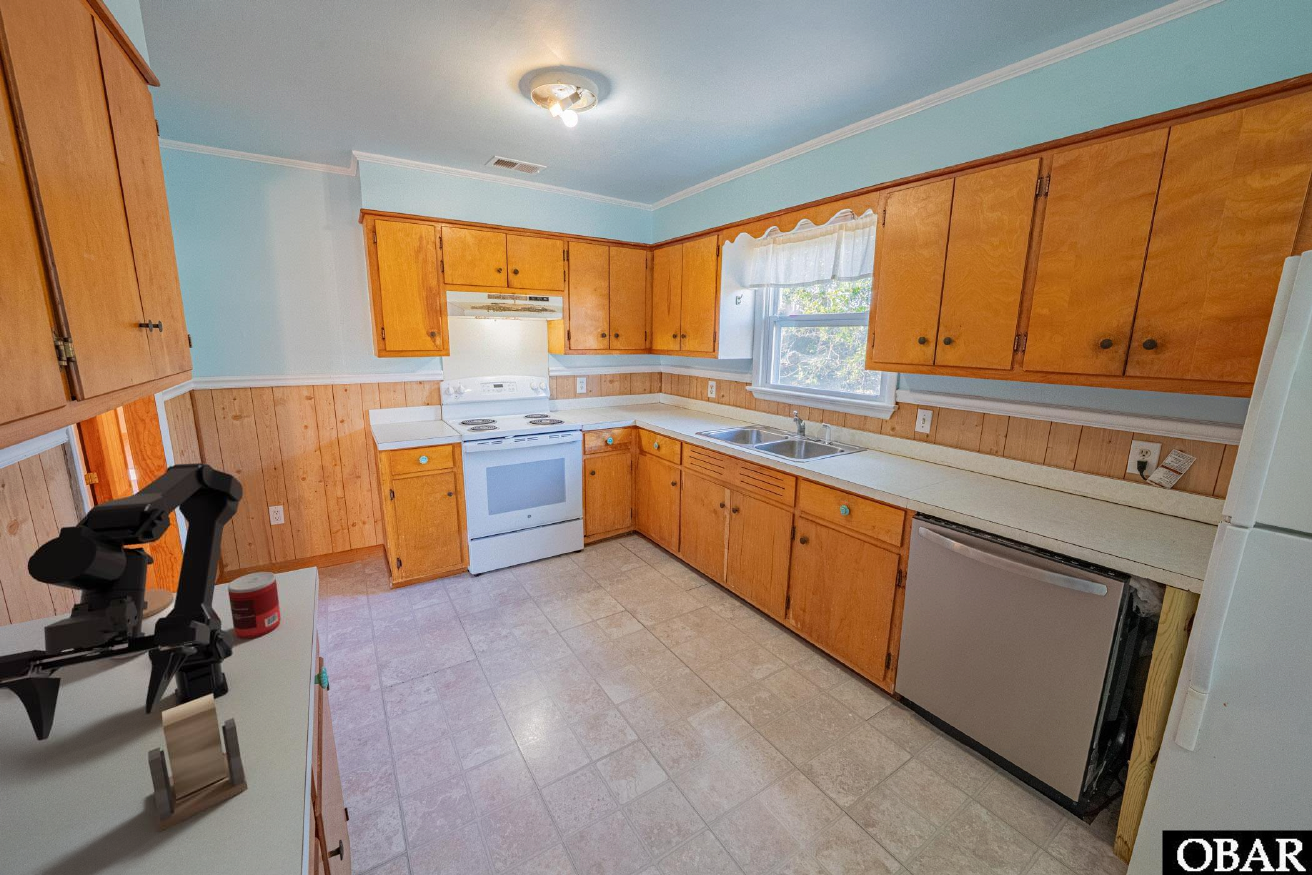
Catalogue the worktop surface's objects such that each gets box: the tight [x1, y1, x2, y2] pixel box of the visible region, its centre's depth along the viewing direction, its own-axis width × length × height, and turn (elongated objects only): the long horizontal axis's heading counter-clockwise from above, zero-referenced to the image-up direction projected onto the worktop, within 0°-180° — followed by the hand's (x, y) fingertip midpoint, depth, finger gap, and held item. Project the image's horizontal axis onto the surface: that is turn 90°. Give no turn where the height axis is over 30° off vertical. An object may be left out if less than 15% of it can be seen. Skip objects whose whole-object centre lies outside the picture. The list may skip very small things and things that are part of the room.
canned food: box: [227, 571, 282, 639], centre depth 103 cm, size 8×8×11 cm
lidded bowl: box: [111, 588, 175, 660], centre depth 96 cm, size 13×13×11 cm
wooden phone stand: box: [147, 717, 248, 832], centre depth 67 cm, size 8×9×10 cm
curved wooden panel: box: [161, 693, 227, 799], centre depth 66 cm, size 4×5×11 cm
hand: (98, 726), depth 59 cm, fingers open, 9 cm apart
